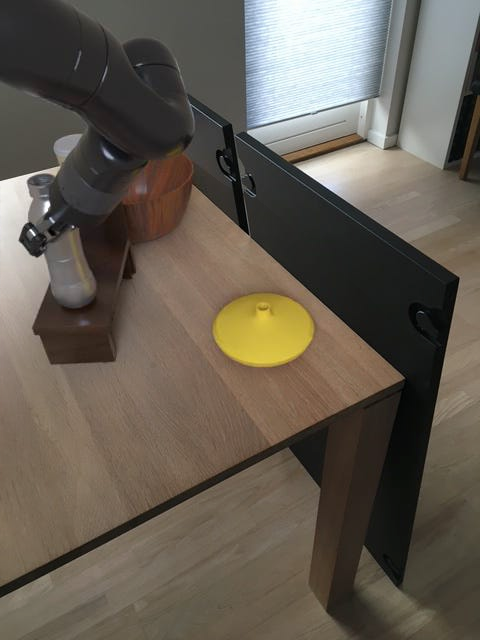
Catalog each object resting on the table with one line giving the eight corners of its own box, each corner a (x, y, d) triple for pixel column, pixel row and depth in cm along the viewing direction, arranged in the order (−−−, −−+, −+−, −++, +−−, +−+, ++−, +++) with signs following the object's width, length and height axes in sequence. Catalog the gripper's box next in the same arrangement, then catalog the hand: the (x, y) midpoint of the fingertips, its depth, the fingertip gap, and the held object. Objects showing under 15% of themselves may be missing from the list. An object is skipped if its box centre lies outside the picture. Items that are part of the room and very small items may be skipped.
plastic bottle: (77, 282, 85) (41, 164, 72) (109, 295, 83) (77, 174, 69) (47, 304, 81) (3, 184, 68) (79, 319, 79) (39, 196, 65)
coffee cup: (70, 206, 120) (56, 154, 112) (63, 187, 126) (49, 138, 118) (111, 196, 122) (100, 145, 114) (102, 179, 129) (91, 130, 121)
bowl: (218, 235, 109) (214, 183, 101) (97, 271, 101) (83, 218, 93) (174, 183, 126) (167, 136, 118) (67, 211, 118) (53, 162, 110)
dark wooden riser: (117, 362, 83) (92, 268, 71) (47, 366, 83) (9, 272, 71) (136, 270, 101) (118, 182, 89) (78, 272, 101) (52, 185, 89)
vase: (235, 390, 78) (232, 356, 73) (200, 323, 89) (196, 290, 84) (331, 358, 82) (335, 324, 77) (287, 298, 93) (287, 265, 88)
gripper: (115, 135, 66) (74, 196, 80) (19, 183, 58) (-9, 242, 71) (153, 185, 67) (106, 237, 81) (64, 239, 59) (28, 287, 72)
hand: (52, 239), depth 76 cm, fingers closed on plastic bottle, 6 cm apart
